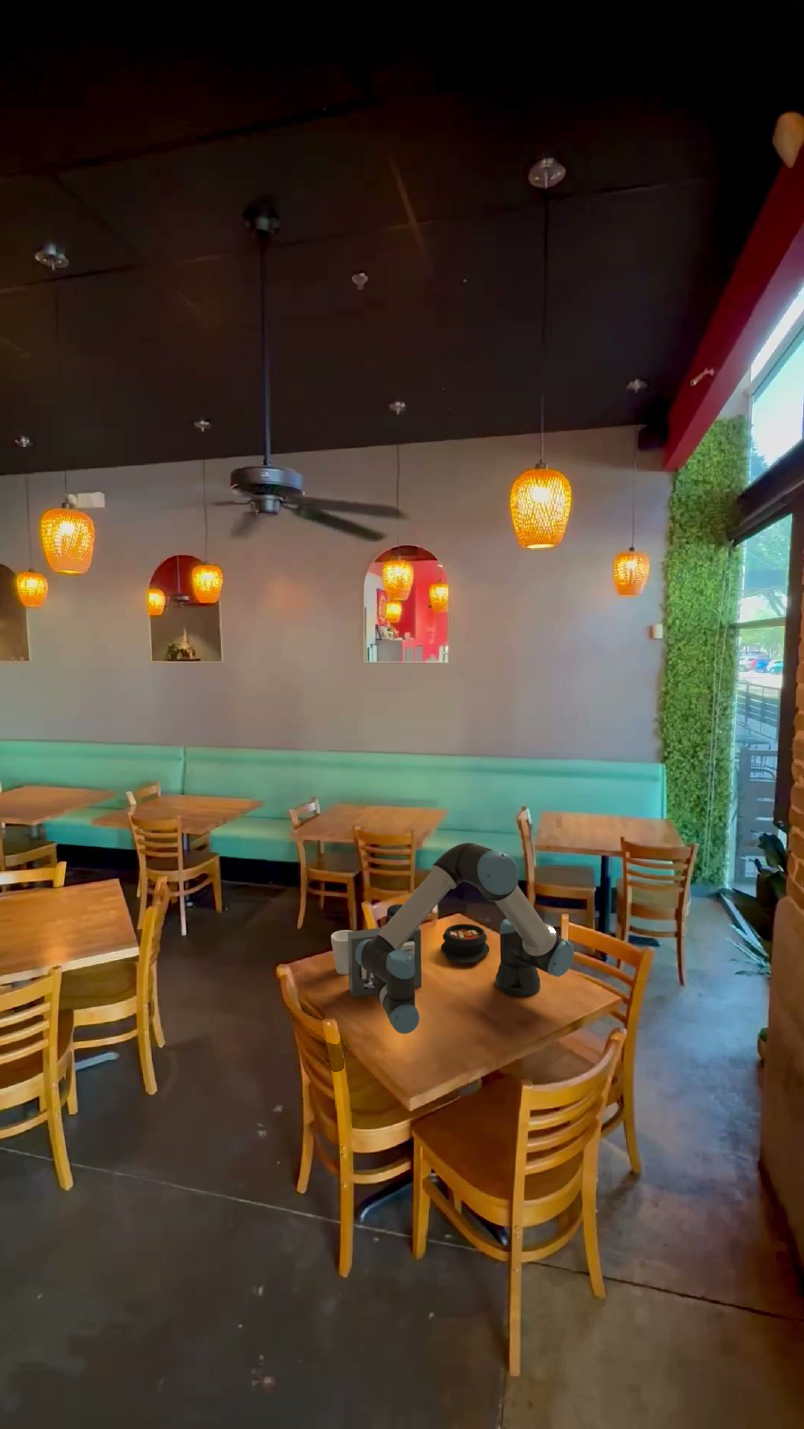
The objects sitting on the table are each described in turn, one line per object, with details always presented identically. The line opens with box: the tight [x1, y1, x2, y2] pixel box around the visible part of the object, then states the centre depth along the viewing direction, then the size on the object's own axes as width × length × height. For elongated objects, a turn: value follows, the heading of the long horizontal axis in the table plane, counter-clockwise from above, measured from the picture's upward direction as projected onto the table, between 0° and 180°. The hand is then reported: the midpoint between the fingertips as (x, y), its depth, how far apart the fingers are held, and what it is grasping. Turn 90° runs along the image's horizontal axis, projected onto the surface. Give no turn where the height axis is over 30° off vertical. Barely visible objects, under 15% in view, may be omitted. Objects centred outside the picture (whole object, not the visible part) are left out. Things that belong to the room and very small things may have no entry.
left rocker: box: [361, 966, 374, 979], centre depth 211 cm, size 2×5×10 cm, turn 106°
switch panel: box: [348, 926, 422, 999], centre depth 221 cm, size 16×24×20 cm, turn 106°
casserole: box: [440, 923, 491, 964], centre depth 244 cm, size 25×19×8 cm
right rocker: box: [400, 941, 415, 956], centre depth 215 cm, size 2×5×10 cm, turn 106°
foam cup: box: [330, 929, 354, 975], centre depth 230 cm, size 10×9×13 cm
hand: (372, 958), depth 204 cm, fingers closed
